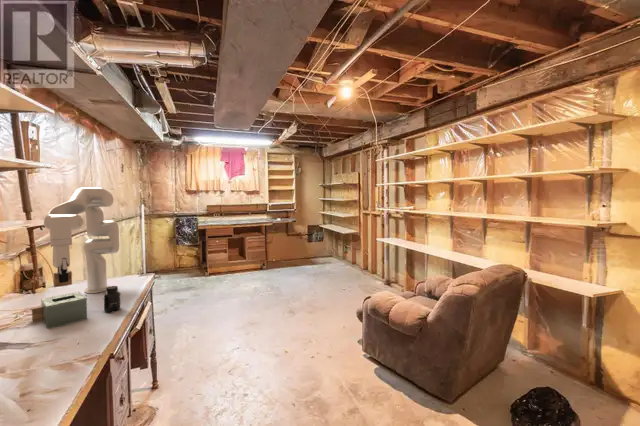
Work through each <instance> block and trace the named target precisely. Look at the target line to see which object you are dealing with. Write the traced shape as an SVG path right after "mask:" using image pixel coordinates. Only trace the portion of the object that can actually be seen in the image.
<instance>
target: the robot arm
mask: <svg viewBox="0 0 640 426" xmlns="http://www.w3.org/2000/svg"><path fill="white" fill-rule="evenodd" d="M113 203H114V196H113V194H112V193H111V192H109V191H108V190H106V188H102V187H80V188H77V189H76V190H75V192H73V195H71V197H70V199H69V200H68V201H65V202H63V203H61V204H58V205H55V206H54V207H52V208H51V209H50V210H49V211H48V213H47V214H46V215H45V217H44V220H43V225H44V227H45V228H46V229H47V230H49V243H50V246H49V247H52V266H53V267H54V268H55V269H57V272H60V274H59V283H63V282H68V271H69V270H68V267H70V266H71V252H70V246H72V245H73V235H72V231H73V230H78V229H80V228H82V226H83V224H84V218H83V217H82V216H81V215H80V214H83V213H85V220H86V221H85V223H86V225H85V226H86V234H87V235H88V236H89V237H95V238H91V239H90V238H89V239H87V240H86V241H84V244H83V250H84V254H85V260H86V261H85V262H86V279H87V280H86V282H87V284H86V285H87V286H86V287H87V288H85V289H84V291H83V292H84V293H85V294H96V293H98V294H99V293H102V292H106V288H107V287H110V286H111V285H108V281H107V280H108V279H107V261H106V259H105V257H104V256H103V255H112V254H117V253H118V252H119V250H120V229H119V224H118V223H117V221H115V220H105V218H104V211H103V209H101V208H103V207H105V208H107V207H108V208H109V207H111V206H112V205H113ZM100 207H101V208H100ZM96 237H108V238H96Z"/></svg>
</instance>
